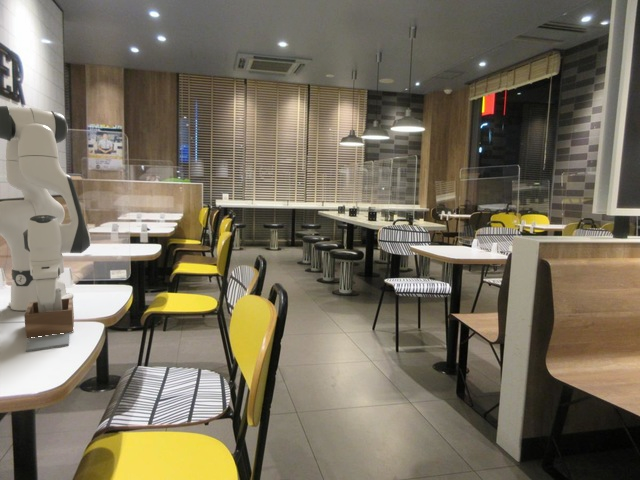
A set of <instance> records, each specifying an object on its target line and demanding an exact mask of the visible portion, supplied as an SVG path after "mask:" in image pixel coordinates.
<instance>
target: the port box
mask: <svg viewBox="0 0 640 480" xmlns="http://www.w3.org/2000/svg"><path fill="white" fill-rule="evenodd" d="M73 300H74V298H73V297H72V298H65V299H62V310H59V311H51V312H42V313H39V312H38V301H37V302H30V303H29V305H28V308H27V310H25V312H24V315H23V316H24V318H23V319H24V326H25V327H24V328H25V338H28V339H29V338H31V337H38V336H45V335H49V336H50V335H52V334H60V333H66V332H71V333H73V332H74V329H73V327H75V313H74V312H75V311H74V301H73ZM72 331H73V332H72Z"/></svg>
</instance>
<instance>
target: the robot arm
mask: <svg viewBox="0 0 640 480" xmlns="http://www.w3.org/2000/svg"><path fill="white" fill-rule="evenodd" d="M68 130H69V129H68V123H67V119H66V117H64V115H63V114H62V113H59V112H56V111H53V110H51V111H47V110H44V109H39V108H34V107H29V108H28V107H20V106H19V107H16V106H14V107H13V106H9V107H8V106H7V105H0V139H2V140H7V142H6V147H5V148H6V149H5V150H6V151H5V159H6V160H5V165H6V168H5V169H6V180H7V183H8V184H9V185H10V186H12V187H13V188H15V189H16V190H19V191H21V192H22V194H23V195H22V196H23V199H19V200H18V199H16V200H15V199H14V200H2V201H0V237H2V238H3V239H4V241H5V242H6V243H7V246H8V248H9V250H10V255H11V257H10V258H11V262H12V269H11V279H12V280H13V281H12V283H11V285H10V301H9V302H8V307H10V309H11V310H13V311H26V310H27V308H28V305H29V303H30V302H37V295H38V297H39V301H40V304H41V305H45V309H46V312H51V311H53V303H54V302H55V297H56V292H55V291H56V289H59V291H60V292H61V299H65V298H73V297H74V293H70V292H67V287H66V284H65V282H64V281H62V280H60V278H61V277H60V276H61V275H62V274H64V272H65V268H64V256H63V254H69V253H70V254H82V253H84V252H85V251H87V249H88V248H90V246H91V240H92V238H91V233H90V230H89V228H88V227H87V225H86V221H85V218H84V213H83V210H82V206H81V204H80V198H79V195H78V193H77V190H76V185H75V183H74V180H73V179H72V176H71V175H69V174H67V173H65V171H64V170H63V168H62V167H61V164H60V155H59V149H58V144H57V143H62V142H63V141H64V140H65V139H66V138H67V134H68ZM49 191H52V192H54V193H56V194H59V195H60V196H61V197H62V198H63V199H64V201H65V203H66V208H67V212H68V215H69V218H70V222H69V223H63V222H64V220H65V218H66V216H65V215H66V214H65V213H66V212H65V208H64V207H63V205H62V204H61V203H60V202H59V201H57V200H56V199H55V198H54V197H53V196H52V195H51V194H50V192H49Z"/></svg>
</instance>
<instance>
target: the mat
mask: <svg viewBox="0 0 640 480" xmlns="http://www.w3.org/2000/svg"><path fill="white" fill-rule="evenodd" d="M69 341H70V333H64V334H57V335H49V336H42V337H35V338H28V342H27V345H26V348H25V352H26V353H28V352H29V353H30V352H35V351H42V350H47V349H55V348H62V347H68V346H69V344H70V342H69Z"/></svg>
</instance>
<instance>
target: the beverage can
mask: <svg viewBox="0 0 640 480" xmlns="http://www.w3.org/2000/svg"><path fill="white" fill-rule="evenodd" d="M55 292H56V297H55V302H54V303H53V311H59V310H62V299H61V292H60V291H59V289H56V291H55ZM37 301H38V312H39V313H42V312H46V309H45V305H41V304H40V301H39V297H38V295H37Z"/></svg>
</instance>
